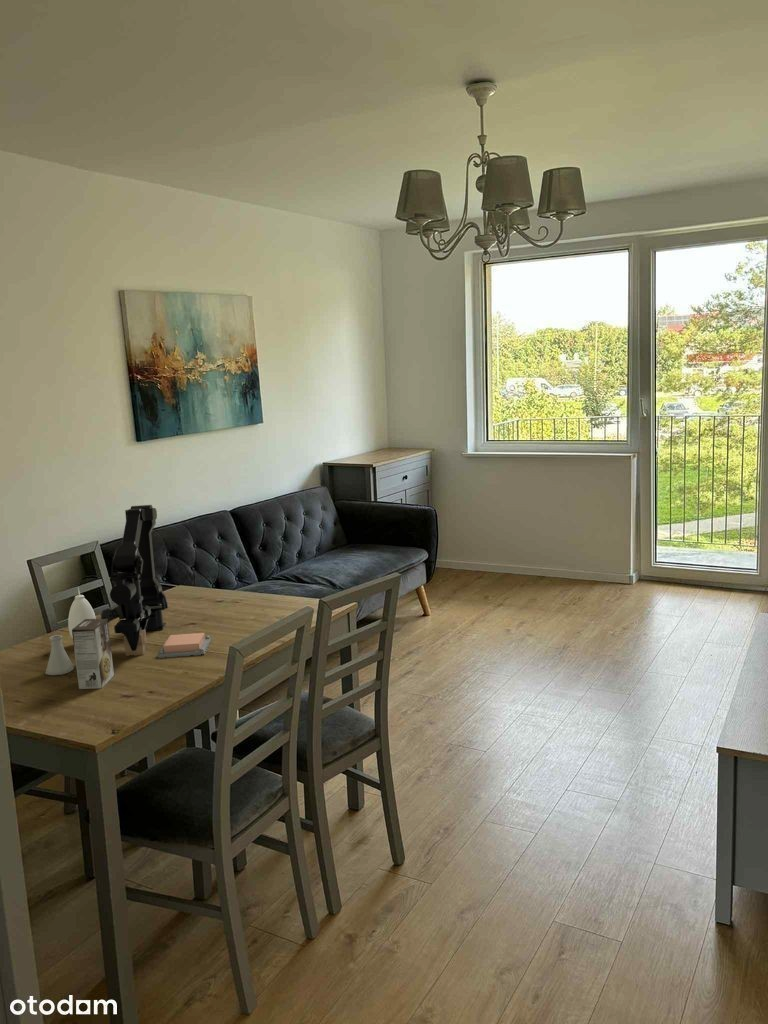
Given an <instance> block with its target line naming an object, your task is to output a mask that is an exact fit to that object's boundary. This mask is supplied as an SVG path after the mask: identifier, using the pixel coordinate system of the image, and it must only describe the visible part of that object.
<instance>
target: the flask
mask: <svg viewBox="0 0 768 1024" xmlns="http://www.w3.org/2000/svg"><path fill="white" fill-rule="evenodd" d="M62 638H63V634H62V635H61V634H55V635H51V636H50V637H49V638H48V639H49V640H50V646H51V647H50V653H49V658H48V662H47V666H46V670H45V675H47V676H48V675H49V676H60V675H65V674H68V673H70V672H72V671H73V670H74V669H75V665H74V664H73V662H72V661H71V659H70V657H69V655H68V653H67V651H66V650H65V648H64V645H63V639H62Z"/></svg>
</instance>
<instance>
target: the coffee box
mask: <svg viewBox="0 0 768 1024" xmlns="http://www.w3.org/2000/svg"><path fill="white" fill-rule="evenodd" d="M72 635H73V639H72V641H73V642H72V644H73V651H74V657H75V659H74V660H75V667H76V675H77V684H78V689H79V690H87V689H89V690H92V689H103V688H104V687H105V686H106V685H107V684H108V682H110V681H111V679H113V677H114V676H115V671H114V663H113V655H112V647H111V645H112V644H111V638H110V629H109V623H108V620H107V619H101V618H96V619H85V620H83V621H82V622H81V623H80V624H78V625H77V626H76V627H75V628H73V629H72Z"/></svg>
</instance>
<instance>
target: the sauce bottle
mask: <svg viewBox="0 0 768 1024" xmlns="http://www.w3.org/2000/svg"><path fill="white" fill-rule="evenodd" d="M85 619H97V617H96V614H95V611H94V609H93V607H92V605H91V604H90V602H89V601H88V600H87V599H86V598H85V595H83V594H81V593H80V588H79V587H77V595H75V596H74V600H73V602H72V603H71V606H70V608H69V613H68V620H67V622H68V623H67V624H68V625H67V627H68V632H69V635H70V637H71V639H72V640H73V635H72V629H73V628H75V627H76V626H77V625H78V624H80V623H81V622H82V621H83V620H85Z"/></svg>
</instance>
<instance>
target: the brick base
mask: <svg viewBox="0 0 768 1024" xmlns="http://www.w3.org/2000/svg"><path fill="white" fill-rule="evenodd" d="M210 641H211V642H212V638H211V637H210V635H205V632H198V633H197V632H196V633H195V632H193V633H182V634H170V635H169V637H168V638H166V641H165V642H164V644H163V645H162V648H161V649H160V651H158V653H157V658H158V659H163V658H164V659H165V657H166V658H177V657H178V656H179V658H180V657H191V656H190V655H194V656H202V655H201V654H205V655H206V652H207V650H208V648H209V646H210V644H209V643H211V642H210ZM208 645H209V646H208ZM207 647H208V648H207ZM206 649H207V650H206ZM205 651H206V652H205Z"/></svg>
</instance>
